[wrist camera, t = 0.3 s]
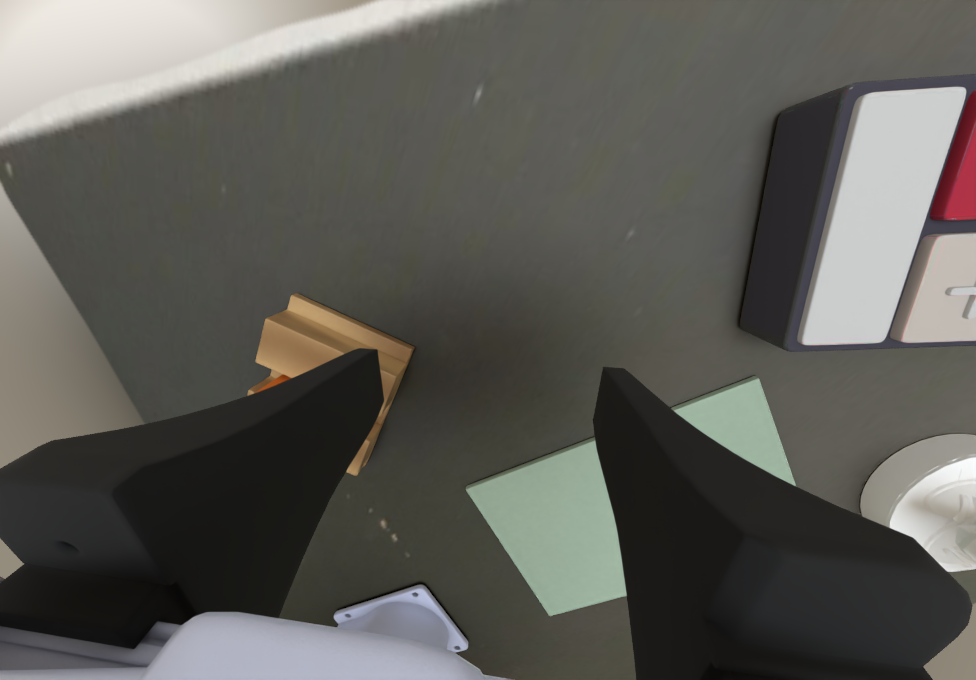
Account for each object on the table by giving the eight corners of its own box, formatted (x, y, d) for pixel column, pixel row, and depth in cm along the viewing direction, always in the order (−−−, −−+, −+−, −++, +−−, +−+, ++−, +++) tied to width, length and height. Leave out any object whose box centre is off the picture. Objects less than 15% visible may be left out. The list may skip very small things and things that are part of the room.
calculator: (1153, 347, 16) (795, 359, 16) (1018, 320, 20) (736, 330, 20) (1335, 41, 12) (866, 74, 13) (1124, 85, 16) (777, 108, 17)
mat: (549, 611, 30) (549, 616, 29) (466, 485, 26) (465, 489, 26) (812, 539, 25) (816, 544, 25) (754, 375, 21) (759, 378, 21)
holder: (367, 462, 26) (351, 487, 24) (263, 417, 26) (236, 439, 23) (415, 346, 23) (402, 362, 20) (296, 292, 22) (268, 302, 20)
